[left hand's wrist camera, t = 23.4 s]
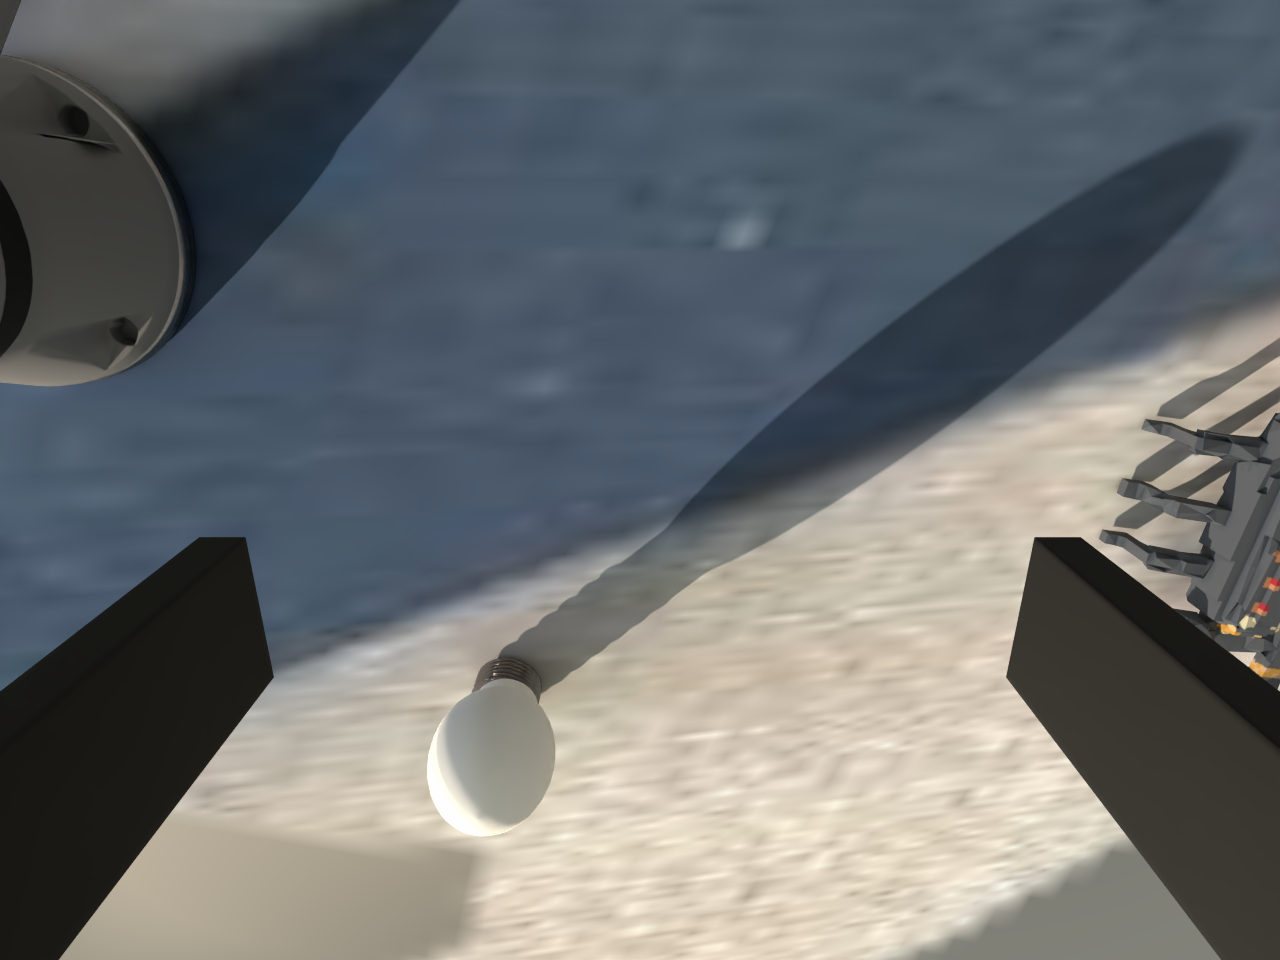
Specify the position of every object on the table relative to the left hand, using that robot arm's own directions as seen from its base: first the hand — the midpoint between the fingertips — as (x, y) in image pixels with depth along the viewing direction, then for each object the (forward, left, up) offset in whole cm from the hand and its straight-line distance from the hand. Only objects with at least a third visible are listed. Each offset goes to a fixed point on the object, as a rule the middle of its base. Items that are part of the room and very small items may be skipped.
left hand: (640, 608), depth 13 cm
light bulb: (-8, -22, -29) cm, 37 cm away
